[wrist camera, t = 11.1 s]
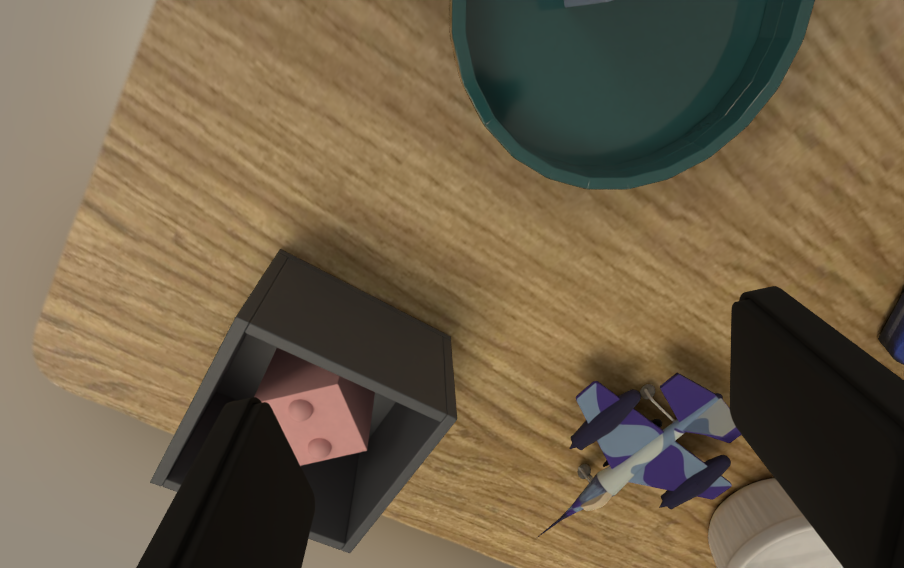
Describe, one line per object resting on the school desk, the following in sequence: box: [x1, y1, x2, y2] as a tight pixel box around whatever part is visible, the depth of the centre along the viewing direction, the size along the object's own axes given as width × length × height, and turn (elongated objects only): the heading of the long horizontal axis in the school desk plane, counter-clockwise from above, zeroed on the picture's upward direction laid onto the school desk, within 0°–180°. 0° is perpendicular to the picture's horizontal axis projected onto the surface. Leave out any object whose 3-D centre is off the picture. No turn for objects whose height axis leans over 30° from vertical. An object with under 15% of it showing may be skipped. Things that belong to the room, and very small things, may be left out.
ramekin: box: [708, 478, 843, 568], centre depth 38 cm, size 11×11×5 cm
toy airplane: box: [538, 373, 741, 537], centre depth 34 cm, size 13×14×4 cm
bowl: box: [449, 0, 815, 189], centre depth 23 cm, size 15×15×3 cm
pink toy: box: [254, 348, 375, 466], centre depth 28 cm, size 4×4×7 cm
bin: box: [150, 249, 457, 553], centre depth 29 cm, size 11×11×8 cm
